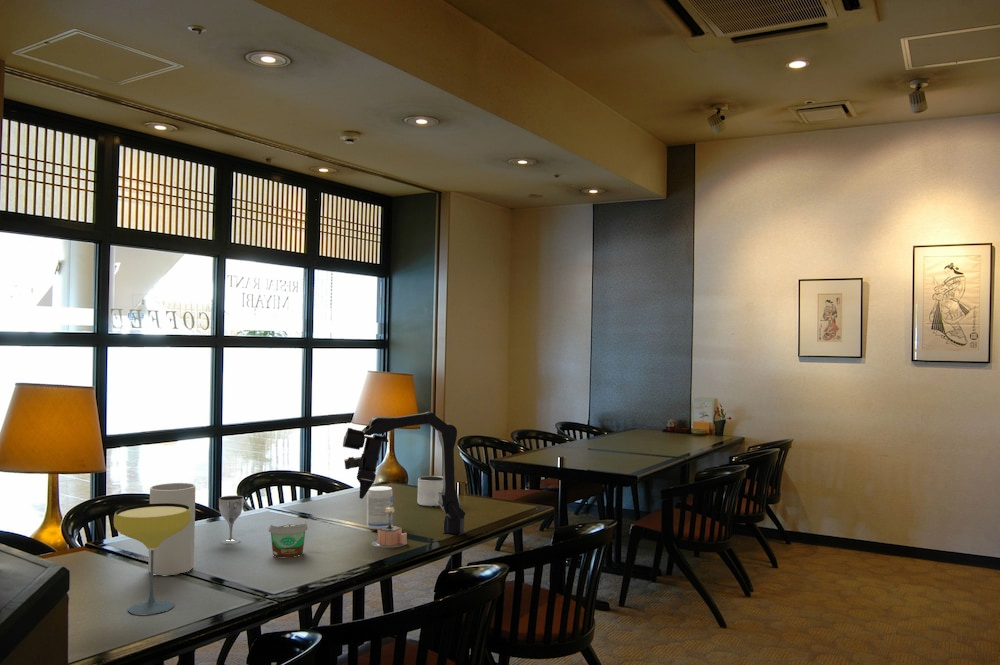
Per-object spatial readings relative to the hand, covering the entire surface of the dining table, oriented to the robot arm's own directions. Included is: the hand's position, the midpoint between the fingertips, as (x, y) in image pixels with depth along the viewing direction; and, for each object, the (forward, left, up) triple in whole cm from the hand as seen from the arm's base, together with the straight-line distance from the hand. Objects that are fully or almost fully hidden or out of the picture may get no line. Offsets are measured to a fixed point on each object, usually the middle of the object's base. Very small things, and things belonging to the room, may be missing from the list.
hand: (361, 496), depth 273 cm
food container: (+7, +28, -15) cm, 33 cm away
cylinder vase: (+27, +57, -15) cm, 65 cm away
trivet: (-13, +1, -15) cm, 20 cm away
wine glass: (+37, +23, -15) cm, 46 cm away
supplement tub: (+4, -18, -15) cm, 24 cm away
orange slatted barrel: (-13, +1, -14) cm, 19 cm away
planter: (+9, -65, -15) cm, 67 cm away
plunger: (-13, +1, -10) cm, 16 cm away
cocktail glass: (+5, +83, -15) cm, 85 cm away
